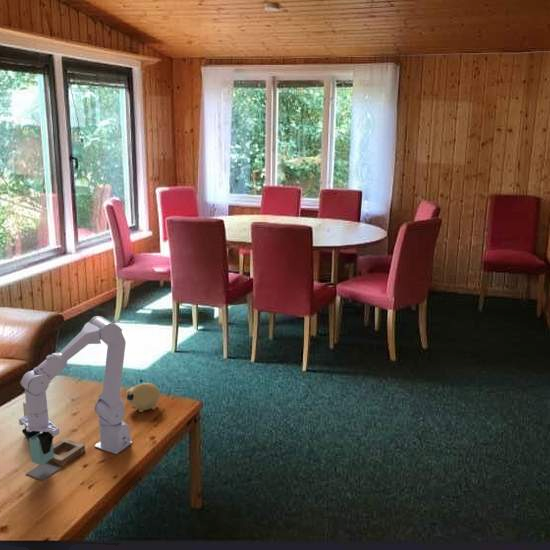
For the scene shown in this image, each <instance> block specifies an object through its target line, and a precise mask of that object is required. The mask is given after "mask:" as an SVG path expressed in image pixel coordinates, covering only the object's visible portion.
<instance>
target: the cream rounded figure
mask: <svg viewBox="0 0 550 550" xmlns="http://www.w3.org/2000/svg"><path fill="white" fill-rule="evenodd" d="M160 395H161V394H160V391H159V388H158V386H157V385H155V384H154V383H152V382H142V383H139V384H137V385H134V386H130V387H128V389H127V390H126V393H125V399H126V401H127V403H128V404H130V405H133V406H134V407H135V408H136V409H137V410H138V411H139V413H140V412H142V413H144V411H146V410H156V408H157V407H156V406H157V404H158V403H159V400H160Z"/></svg>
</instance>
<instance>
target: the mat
mask: <svg viewBox="0 0 550 550" xmlns="http://www.w3.org/2000/svg"><path fill="white" fill-rule="evenodd" d="M60 470H61V466H58V465H57V466H56V465H55V464H53V463H50V462H46V463H44V464H43V465H39V464H37V465H36V466H35V467H34V468H32V469H30V470H29V471H27V472H26V473H25V474H26V475H27V476H29V477H31V478H34V479H37V480H40V481H41V480H42V482H43V480H44V481H45V480H47V479H48V478H49V477H51V476H53V475H54V474H56V473H57V472H58V471H60Z"/></svg>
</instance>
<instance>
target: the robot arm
mask: <svg viewBox="0 0 550 550" xmlns="http://www.w3.org/2000/svg"><path fill="white" fill-rule="evenodd" d="M122 331H123V329H122V328H121V327H120V326H119V325H117V324H116V323H114V322H112V321H110V320H108V319H107V318H105V317H103V316H100V315H96V316H93V317H92V318H91V319H90V320H89V321H88V322H86V323H85V324H84V326H83V327H82V329H81V331H80V332H79V333H77V334H76V336H75V337H73V338H72V340H71V341H70V342H68V344H66V345H65V346H64V347H63V349H61V351H58V352H52V353H51V354H48V355H47V356H46V357H45V358H46V359H44V360H43V361H42V362H41V363H40V364H39V365H38V366H35V367H34V368H33V370H29V371H27V372H25V373H24V375H23V376H22V378H21V381H20V382H19V383H20V385H21V386H22V388H24V395H25V397H24V398H25V401H26V408H27V417H25V416H24V415H23V416H22V417H20V418H18V424H19V425H20V426H23V425H24V428H23V429H22V431H21V433H22V434H23V435H24V436H25V438H26V439H27V441H28V443H29V444H30V442H29V438H31V437H32V436H34V435H36V434H37V433H39V432H40V431H41V432H43V433H41V434H39V435H38V436H37V437H38V439H39V441H40V443H41V446H42V451H43V454H47V453H48V452H50V449H51V444H52V441H53V440H54V437H57V436H58V435H59V434H60V428H59V427H57V426H56V425H55V424H54V423H52V421H50V420H49V410H48V400H47V399H48V398H47V390H48V388H49V385H50V384H51V381H52V380H54V378H56V377H57V376H58V375H59V374H60V373H61V372H63V371H64V369H66V368H67V365H68V361H69V360H70V359H71V358H73V357H74V356H75V355H76V354H78V353H80V352H81V350H83V349H85V347H87V346H88V345H93V344H95V345H100V344H102V342H103V343H104V344H105V345H106V346H107V349H106V359H105V368H104V377H103V386H102V391H101V392H100V393H98V397H97V401H96V402H95V404H94V409H93V410H94V412H95V413H96V415H98V428H99V440H100V441H99V442H97V443H96V444H94V447H95V448H97V449H100V450H103V451H106V452H109V453H111V454H114V455H118V454H119V453H120V452H121V451H123V450H124V449H126V448H127V447H129V446H130V445H132V444H133V441H132V440H131V429H130V425H129V424H128V423H126V422H125V421H124V418H125V416H126V411H125V409H124V400H123V398H122V395H121V388H122V387H121V386H122V378H123V377H122V376H123V369H124V360H125V352H126V351H125V350H126V339H125V337H124V334H123V332H122ZM101 341H102V342H101ZM25 426H26V427H25Z"/></svg>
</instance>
